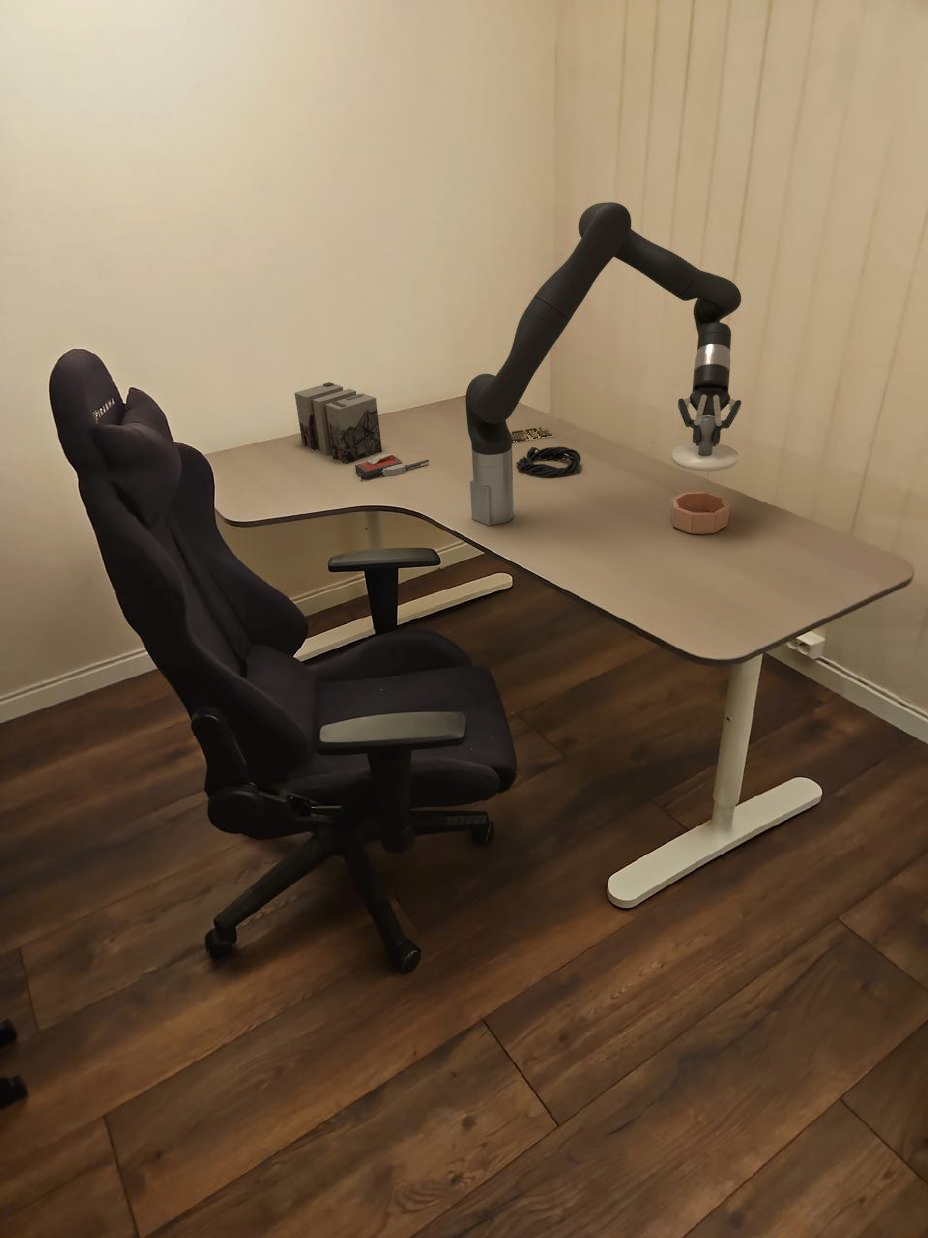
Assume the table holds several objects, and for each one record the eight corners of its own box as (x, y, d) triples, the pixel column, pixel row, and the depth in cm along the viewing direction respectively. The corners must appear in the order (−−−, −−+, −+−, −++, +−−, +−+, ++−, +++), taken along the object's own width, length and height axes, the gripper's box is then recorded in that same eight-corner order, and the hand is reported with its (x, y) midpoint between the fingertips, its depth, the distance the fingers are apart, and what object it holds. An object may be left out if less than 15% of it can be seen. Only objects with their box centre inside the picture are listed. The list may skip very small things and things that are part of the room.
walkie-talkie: (365, 485, 231) (431, 466, 239) (363, 469, 228) (430, 451, 237) (350, 475, 237) (415, 457, 246) (348, 460, 235) (414, 442, 243)
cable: (591, 466, 233) (591, 451, 231) (561, 485, 224) (561, 468, 222) (537, 454, 243) (537, 439, 240) (507, 471, 234) (506, 455, 231)
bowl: (704, 540, 194) (706, 519, 191) (660, 523, 202) (661, 503, 199) (736, 522, 200) (738, 502, 198) (692, 507, 208) (694, 487, 206)
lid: (712, 476, 185) (716, 434, 180) (658, 459, 194) (661, 419, 189) (750, 457, 192) (755, 416, 187) (697, 442, 201) (700, 402, 196)
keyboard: (483, 450, 248) (482, 443, 247) (474, 439, 255) (474, 433, 254) (556, 439, 252) (556, 432, 251) (545, 429, 260) (545, 422, 258)
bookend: (338, 431, 266) (331, 378, 257) (389, 451, 249) (383, 395, 241) (294, 446, 257) (285, 391, 249) (343, 468, 241) (335, 410, 232)
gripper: (679, 361, 191) (672, 436, 187) (747, 362, 187) (741, 438, 184) (678, 378, 198) (672, 450, 194) (743, 379, 195) (738, 452, 191)
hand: (706, 444), depth 189 cm, fingers closed on lid, 3 cm apart
